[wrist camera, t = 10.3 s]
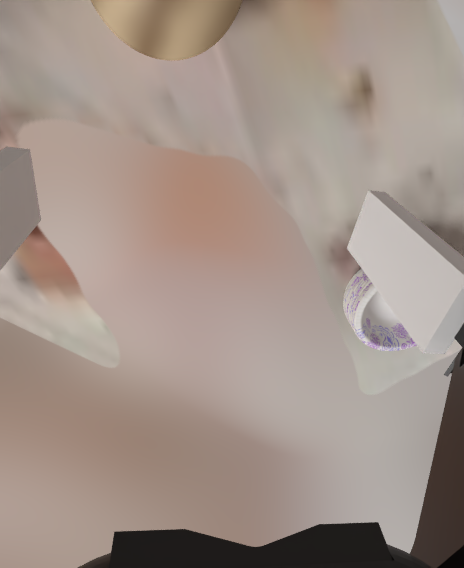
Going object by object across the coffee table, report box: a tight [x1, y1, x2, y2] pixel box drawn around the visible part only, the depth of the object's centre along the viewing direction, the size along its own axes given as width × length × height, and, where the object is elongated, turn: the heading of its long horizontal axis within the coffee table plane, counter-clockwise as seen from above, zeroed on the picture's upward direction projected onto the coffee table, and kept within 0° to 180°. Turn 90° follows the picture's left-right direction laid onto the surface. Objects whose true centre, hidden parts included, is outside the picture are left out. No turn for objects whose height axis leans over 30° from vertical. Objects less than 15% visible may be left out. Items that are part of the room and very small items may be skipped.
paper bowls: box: [343, 268, 417, 351], centre depth 53 cm, size 15×15×8 cm
